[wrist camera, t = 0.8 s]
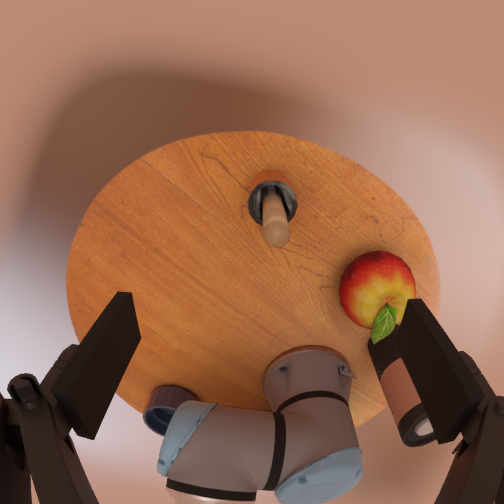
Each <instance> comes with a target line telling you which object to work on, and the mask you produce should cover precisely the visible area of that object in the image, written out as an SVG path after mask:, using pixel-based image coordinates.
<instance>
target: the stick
mask: <svg viewBox="0 0 504 504" xmlns="http://www.w3.org/2000/svg"><path fill="white" fill-rule="evenodd" d="M263 237H264V240H265V242H266V243H267V244H268V245H270V246H271V247H275V248H278V247H282V246H284V245H285V244H286V243H287V242H288V241H289V239H290V229H289V225H288V222H287V218H286V214H285V211H284V207H283V203H282V200H281V196H280V193H279V189H278V187H277V186H276V185H268V186H265V187H264V188H263Z"/></svg>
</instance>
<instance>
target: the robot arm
mask: <svg viewBox="0 0 504 504" xmlns="http://www.w3.org/2000/svg"><path fill="white" fill-rule="evenodd" d="M140 340H141V335H140V331H139V326H138V322H137V317H136V312H135V307H134V302H133V297H132V293H130V292H117V293H116V294H115V296H114V297H113V298H112V300H111V301H110V302H109V304H108V305H107V306H106V308H105V309H104V311H103V312H102V313H101V315H100V316H99V317H98V319H97V320H96V322H95V323H94V324H93V326H92V327H91V329H90V330H89V332H88V333H87V334H86V336H85V337H84V339H83V340H82V342H81V343H80V344H79V345H75V344H72V345H70V346H69V347H68V348H66V349H65V350H63V352H62V353H61V355H60V356H59V357H58V360H57V361H56V362H55V363H54V365H53V367H51V369H50V370H49V372H48V373H47V375H46V376H45V378H44V379H43V381H42V382H41V384H40V385H39V383H38V381H37V379H36V377H35V376H33V375H32V374H27V373H24V374H20V375H17V376H15V377H14V378H13V379H12V380H11V381H10V382H9V384H8V388H7V391H8V392H9V394H10V396H11V397H12V399H4V398H3V396H2V395H1V393H0V504H32V498H31V477H30V473H31V476H32V480H33V483H34V487H35V490H36V493H37V496H38V499H39V502H40V504H99V502H98V500H97V498H96V496H95V494H94V492H93V490H92V488H91V486H90V484H89V481H88V479H87V476H86V474H85V472H84V469H83V467H82V465H81V462H80V460H79V457H78V455H77V452H76V450H75V447H74V444H73V441H72V439H71V437H70V435H69V432H70V430H71V428H73V429H74V431H75V432H76V434H77V435H78V436H81V437H84V438H87V439H91V440H94V439H95V436H96V434H97V432H98V430H99V427H100V425H101V423H102V421H103V418H104V416H105V414H106V411H107V409H108V407H109V405H110V403H111V401H112V398H113V396H114V394H115V392H116V390H117V388H118V385H119V383H120V381H121V379H122V377H123V375H124V373H125V371H126V369H127V366H128V364H129V362H130V360H131V358H132V356H133V354H134V352H135V350H136V348H137V346H138V344H139V342H140ZM395 346H396V348H397V350H398V352H399V354H400V356H401V358H402V360H403V362H404V365H405V367H406V369H407V371H408V373H409V375H410V378H411V380H412V382H413V384H414V386H415V389H416V391H417V393H418V396H419V398H420V400H421V402H422V405H423V407H424V409H425V412H426V414H427V417H428V419H429V421H430V424H431V426H432V429H433V431H434V434H435V436H436V439H437V441H438V444H443V443H447V442H451V441H454V440H455V439H456V437H457V436H458V434H459V433H460V432H461V433H462V436H463V439H462V440H461V442H460V443H459V444H458V445H457V447H456V448H455V449H454V451H453V452H452V454H454V453H455V452H456V451H457V452H456V455H455V458H454V460H453V463H452V465H451V467H450V470H449V472H448V475H447V477H446V479H445V482H444V484H443V486H442V488H441V491H440V493H439V495H438V497H437V499H436V501H435V503H434V504H494V501H495V504H504V397H502V396H496V395H495V393H494V392H493V390H492V389H491V387H490V386H489V384H488V382H487V380H486V379H485V377H484V376H483V374H481V371H480V370H479V368H478V367H477V365H476V363H475V362H474V360H473V359H472V358H471V357H470V356H469V355H468V354H467V353H465V352H464V351H460V352H458V351H457V349H456V348H455V346H454V345H453V343H452V342H451V340H450V339H449V337H448V336H447V334H446V333H445V331H444V330H443V329H442V327H441V326H440V324H439V323H438V321H437V320H436V318H435V317H434V316H433V314H432V313H431V311H430V310H429V309H428V307H427V306H426V305H425V303H424V302H423V301H422V299H408V300H407V304H406V308H405V311H404V315H403V318H402V321H401V325H400V328H399V331H398V334H397V338H396V341H395ZM351 377H352V378H355V379H356V377H355V374H354V373H353V372H351V371H350V368H349V365H348V362H347V360H346V359H345V358H344V357H343V356H342V355H341V354H340V353H338V352H337V351H335V350H333V349H330V348H327V347H322V346H304V347H299V348H295V349H292V350H289V351H287V352H285V353H283V354H281V355H280V356H278V357H277V358H275V359H274V360H273V361H272V362H271V363H270V364H269V366H268V367H267V369H266V371H265V373H264V377H263V389H264V393H265V397H266V399H267V401H268V403H269V405H270V407H271V409H272V411H273V412H269V411H260V410H251V409H244V408H238V407H231V406H225V405H219V404H218V403H216V402H213V403H207V402H200V401H192V400H190V401H186V402H184V403H182V404H181V405H180V406H179V407H178V408H177V410H176V411H175V413H174V415H173V417H172V419H171V421H170V424H169V426H168V429H167V431H166V434H165V437H164V440H163V443H162V446H161V449H160V453H159V460H158V463H157V471H158V473H160V474H161V475H162V476H165V477H166V476H168V478H167V484H166V490H167V491H168V492H169V493H170V495H171V496H172V497H173V498H174V500H175V504H254V503H255V499H256V492H257V490H267V491H275V495H276V497H277V499H278V501H279V502H281V503H282V504H319V503H323V502H326V501H329V500H332V499H334V498H336V497H339V496H341V495H343V494H345V493H346V492H348V491H349V490H351V489H352V488H353V487H354V486H356V485H357V483H358V482H359V481H360V479H361V477H362V475H363V463H362V456H361V455H362V451H361V449H360V448H359V443H358V439H357V435H356V432H355V428H354V424H353V420H352V416H351V413H350V409H349V405H348V401H349V395H350V388H351V380H352V379H351Z"/></svg>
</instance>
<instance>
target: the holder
mask: <svg viewBox="0 0 504 504" xmlns="http://www.w3.org/2000/svg"><path fill="white" fill-rule="evenodd" d="M268 185H276V186H277V187H278V189H279V193H280V196H281V200H282V203H283V207H284V211H285V214H286V218H287V222H289V221H290V220H291V219H292V218H293V217H294V216H295V213H296V209H297V199H296V195H295V192H294V191H293V189H292V187H291V185H290V183H289V181H288V180H287V178H286V177H285V176H284V175H283V174H282V173H280V172H278V171H275V170H266V171H263V172H261V173H259V174H258V175H257V176H256V177H255V178H254V180H253V181H252V184H251V188H250V193H249V198H248V209H249V214H250V215H251V217H252V218H253V219H254V221H255V222H256V223H258V224H260V225H262V226H263V188H264V187H265V186H268Z"/></svg>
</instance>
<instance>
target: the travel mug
mask: <svg viewBox="0 0 504 504" xmlns="http://www.w3.org/2000/svg"><path fill="white" fill-rule="evenodd" d="M399 328H400V326H399V325H395V328H394V329H393V331H392V332H391V333H390V334H389V335H388V336H386V337H385V338H383V339H381V340H380V341H378V342H377V343H375V344H373V341H372V338H371V337H370V339H369V342H368V350H369V353H370V356H371V359H372V362H373V364H374V367H375V370H376V373H377V376H378V379H379V381H380V384H381V387H382V389H383V392H384V394H385V397H386V399H387V402H388V405H389V407H390V409H391V412H392V415H393V417H394V420H395V423H396V425H397V428H398V430H399V433H400V436H401V438H402V441H403V443H404V444H405V445H406V446H408V447H418V446H422V445H425V444H428V443H430V442H432V441H434V440H436V436H435V434H434V431H433V429H432V426H431V424H430V421H429V419H428V417H427V414H426V412H425V409H424V407H423V405H422V402H421V400H420V398H419V396H418V393H417V391H416V389H415V386H414V384H413V382H412V380H411V378H410V375H409V373H408V371H407V369H406V367H405V365H404V362H403V360H402V358H401V356H400V354H399V352H398V350H397V348H396V346H395V341H396V338H397V334H398V331H399Z"/></svg>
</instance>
